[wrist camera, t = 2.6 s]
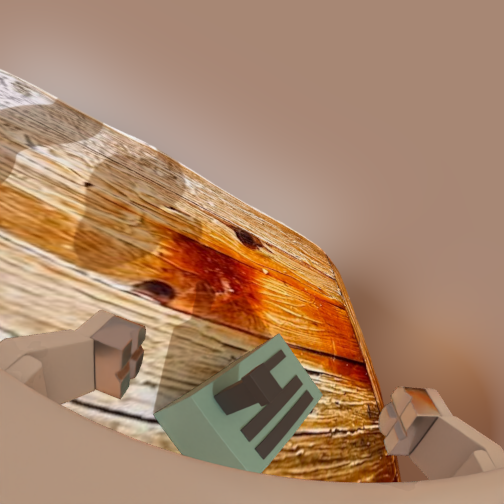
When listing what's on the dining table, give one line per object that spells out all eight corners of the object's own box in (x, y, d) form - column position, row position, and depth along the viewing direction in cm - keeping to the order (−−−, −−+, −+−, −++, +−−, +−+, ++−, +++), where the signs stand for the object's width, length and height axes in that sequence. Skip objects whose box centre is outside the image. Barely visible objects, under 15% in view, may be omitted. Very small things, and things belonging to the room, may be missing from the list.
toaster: (152, 414, 32) (191, 395, 27) (239, 358, 47) (280, 332, 42) (206, 484, 29) (256, 479, 25) (278, 413, 44) (324, 394, 40)
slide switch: (209, 394, 28) (249, 373, 25) (223, 383, 30) (263, 362, 27) (227, 419, 28) (270, 403, 25) (241, 408, 30) (283, 390, 27)
